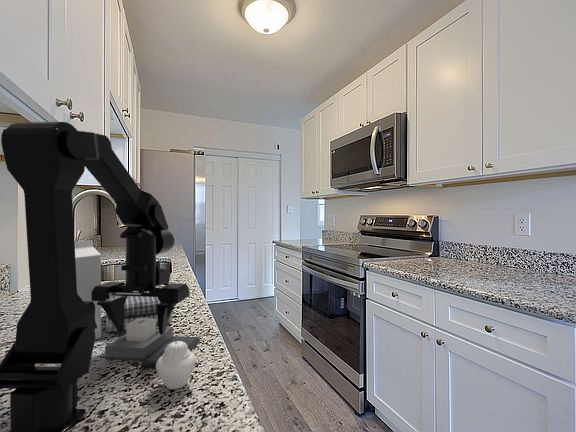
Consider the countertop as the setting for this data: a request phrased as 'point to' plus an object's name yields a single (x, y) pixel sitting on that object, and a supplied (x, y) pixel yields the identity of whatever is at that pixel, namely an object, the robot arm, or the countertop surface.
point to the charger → (141, 330)
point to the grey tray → (136, 346)
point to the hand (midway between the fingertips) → (141, 333)
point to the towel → (137, 311)
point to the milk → (88, 275)
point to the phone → (154, 357)
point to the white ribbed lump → (176, 365)
